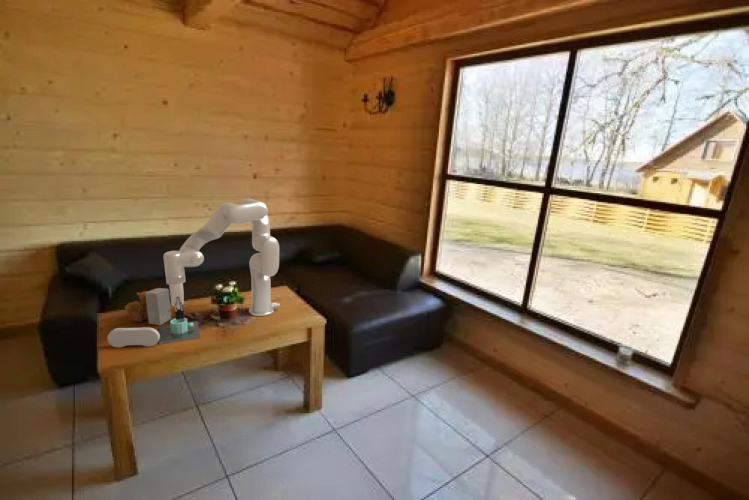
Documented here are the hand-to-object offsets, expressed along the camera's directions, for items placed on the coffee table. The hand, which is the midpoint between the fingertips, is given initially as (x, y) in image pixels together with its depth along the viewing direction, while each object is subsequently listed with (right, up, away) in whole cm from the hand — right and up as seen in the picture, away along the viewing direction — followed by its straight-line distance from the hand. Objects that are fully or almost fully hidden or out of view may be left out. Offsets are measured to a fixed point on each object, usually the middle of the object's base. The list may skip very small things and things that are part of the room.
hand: (179, 314), depth 173 cm
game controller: (-13, -12, -11) cm, 21 cm away
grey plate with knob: (-1, -9, +2) cm, 9 cm away
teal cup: (0, -8, +2) cm, 8 cm away
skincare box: (-16, -5, +12) cm, 20 cm away
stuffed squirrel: (-24, -4, +14) cm, 28 cm away
